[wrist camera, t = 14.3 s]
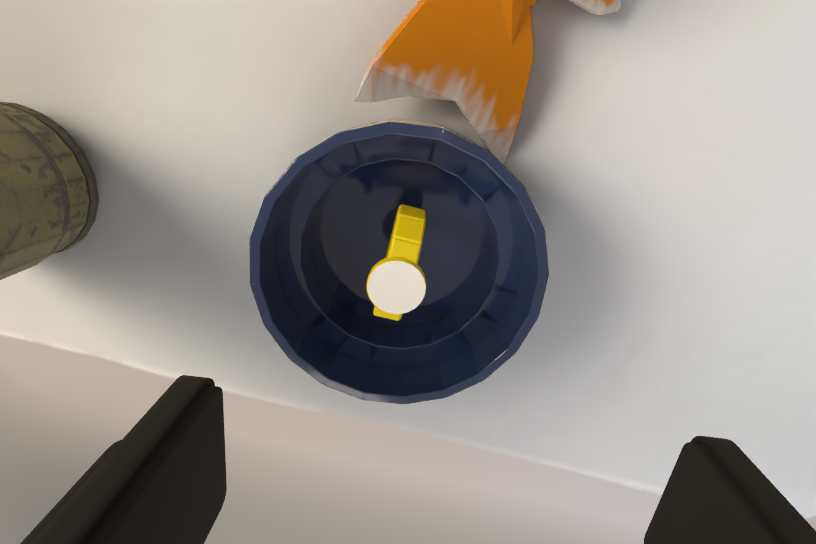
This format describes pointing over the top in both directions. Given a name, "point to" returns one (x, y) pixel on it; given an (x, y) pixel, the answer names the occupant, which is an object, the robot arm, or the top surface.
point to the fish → (465, 61)
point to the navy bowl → (367, 244)
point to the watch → (400, 267)
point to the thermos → (40, 189)
